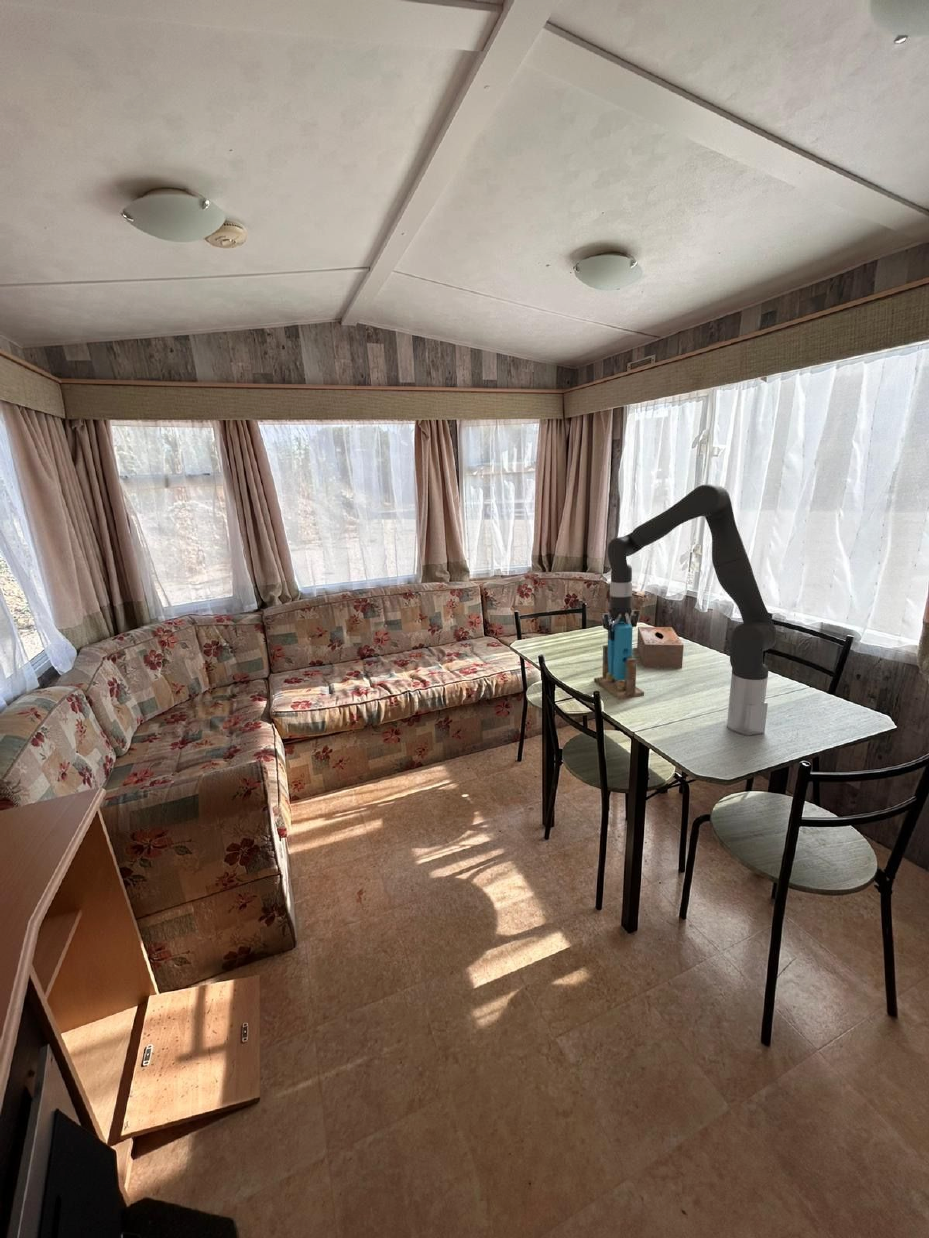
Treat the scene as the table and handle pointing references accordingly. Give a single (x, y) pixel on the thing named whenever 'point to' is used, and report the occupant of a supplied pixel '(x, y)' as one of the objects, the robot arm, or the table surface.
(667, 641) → the tissue box cover
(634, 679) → the peg stand
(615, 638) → the block
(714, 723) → the table surface
